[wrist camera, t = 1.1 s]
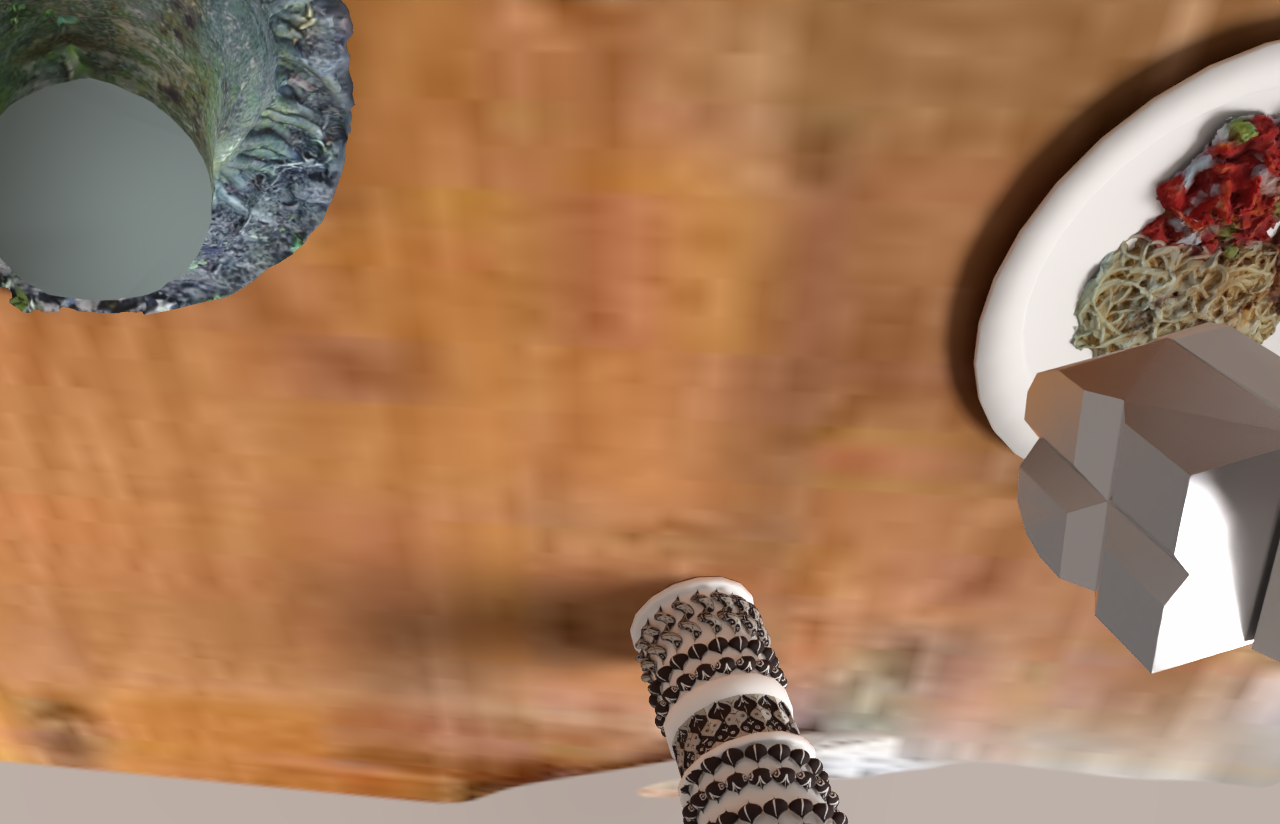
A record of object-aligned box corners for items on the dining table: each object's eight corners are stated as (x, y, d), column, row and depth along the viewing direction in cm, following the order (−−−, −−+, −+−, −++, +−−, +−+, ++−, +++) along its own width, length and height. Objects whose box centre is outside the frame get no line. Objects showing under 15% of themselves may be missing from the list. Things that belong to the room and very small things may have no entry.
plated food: (1057, 526, 83) (1082, 562, 80) (878, 258, 63) (904, 296, 60) (1476, 275, 76) (1518, 307, 73) (1423, -111, 56) (1477, -86, 54)
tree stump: (-236, 217, 48) (-445, 431, 32) (-84, -319, 42) (-247, -380, 26) (242, 367, 57) (264, 593, 41) (421, -57, 51) (526, 14, 35)
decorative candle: (720, 669, 83) (854, 1038, 65) (601, 658, 79) (709, 1049, 61) (783, 581, 79) (947, 954, 60) (660, 565, 74) (796, 959, 56)
